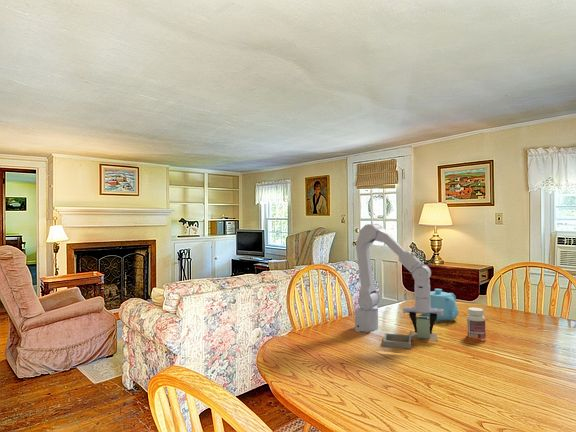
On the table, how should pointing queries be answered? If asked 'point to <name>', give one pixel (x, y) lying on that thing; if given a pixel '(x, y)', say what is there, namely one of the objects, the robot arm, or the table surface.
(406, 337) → the grey tray
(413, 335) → the pin block
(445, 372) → the table surface
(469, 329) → the pill bottle
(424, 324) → the green sleeve
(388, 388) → the table surface
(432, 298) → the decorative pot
